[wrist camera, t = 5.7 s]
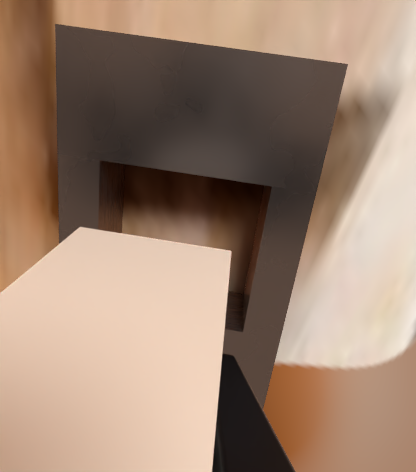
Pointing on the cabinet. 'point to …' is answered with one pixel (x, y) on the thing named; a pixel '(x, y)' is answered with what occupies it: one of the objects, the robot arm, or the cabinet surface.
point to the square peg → (113, 356)
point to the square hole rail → (199, 150)
